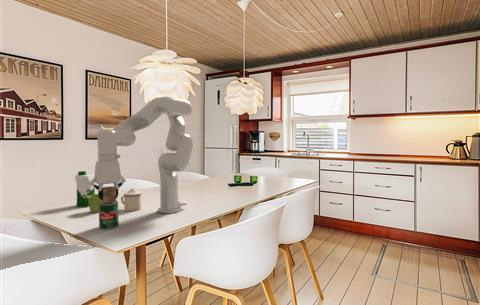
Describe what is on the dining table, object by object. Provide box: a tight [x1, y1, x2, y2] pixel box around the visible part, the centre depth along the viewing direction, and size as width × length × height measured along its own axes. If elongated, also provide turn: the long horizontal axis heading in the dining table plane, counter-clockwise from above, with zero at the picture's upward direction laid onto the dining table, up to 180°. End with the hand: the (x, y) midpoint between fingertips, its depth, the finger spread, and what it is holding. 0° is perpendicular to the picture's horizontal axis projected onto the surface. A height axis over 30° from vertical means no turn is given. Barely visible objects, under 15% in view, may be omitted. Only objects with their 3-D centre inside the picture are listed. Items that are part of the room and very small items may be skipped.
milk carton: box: [74, 170, 96, 208], centre depth 164 cm, size 9×9×20 cm
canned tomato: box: [98, 200, 120, 231], centre depth 125 cm, size 8×8×11 cm
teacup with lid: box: [120, 188, 142, 212], centre depth 155 cm, size 12×9×12 cm
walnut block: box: [101, 185, 117, 203], centre depth 124 cm, size 5×5×6 cm
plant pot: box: [86, 193, 102, 214], centre depth 150 cm, size 9×9×9 cm
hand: (108, 198), depth 124 cm, fingers open, 5 cm apart
